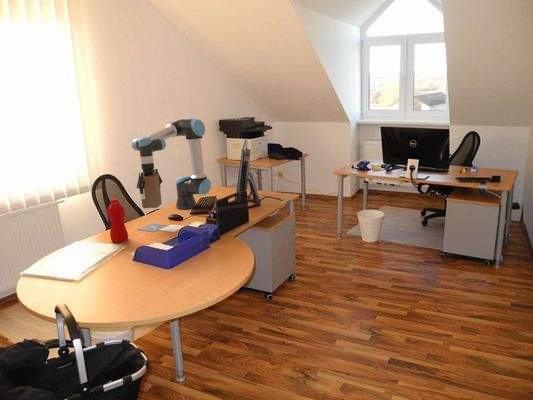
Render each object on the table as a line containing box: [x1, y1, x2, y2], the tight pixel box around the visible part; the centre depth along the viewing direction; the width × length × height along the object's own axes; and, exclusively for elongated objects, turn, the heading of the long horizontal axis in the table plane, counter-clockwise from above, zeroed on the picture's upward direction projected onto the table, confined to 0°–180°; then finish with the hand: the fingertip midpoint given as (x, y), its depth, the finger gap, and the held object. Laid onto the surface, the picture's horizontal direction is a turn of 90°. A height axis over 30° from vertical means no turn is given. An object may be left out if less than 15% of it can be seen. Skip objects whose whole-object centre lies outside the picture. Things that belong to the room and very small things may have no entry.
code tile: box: [137, 222, 169, 233], centre depth 284 cm, size 14×14×1 cm
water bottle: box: [106, 198, 129, 244], centre depth 259 cm, size 9×11×25 cm
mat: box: [159, 224, 185, 233], centre depth 280 cm, size 12×12×1 cm
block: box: [141, 174, 162, 209], centre depth 278 cm, size 10×10×20 cm
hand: (151, 196), depth 279 cm, fingers open, 13 cm apart
